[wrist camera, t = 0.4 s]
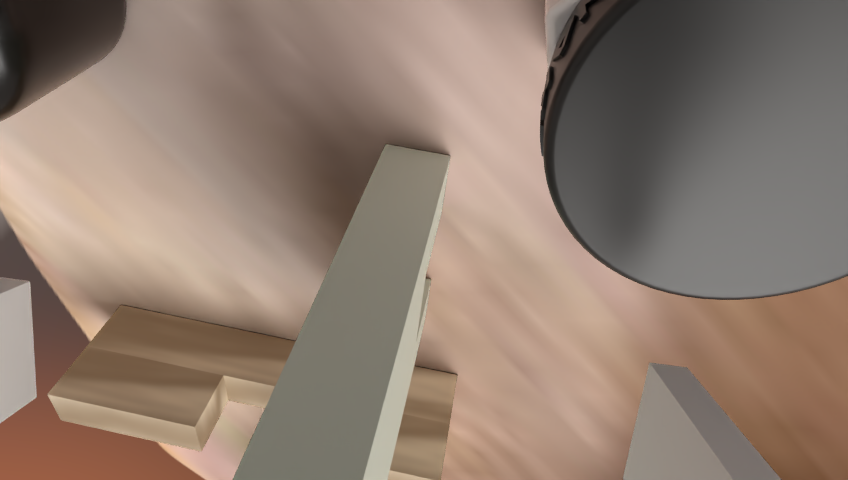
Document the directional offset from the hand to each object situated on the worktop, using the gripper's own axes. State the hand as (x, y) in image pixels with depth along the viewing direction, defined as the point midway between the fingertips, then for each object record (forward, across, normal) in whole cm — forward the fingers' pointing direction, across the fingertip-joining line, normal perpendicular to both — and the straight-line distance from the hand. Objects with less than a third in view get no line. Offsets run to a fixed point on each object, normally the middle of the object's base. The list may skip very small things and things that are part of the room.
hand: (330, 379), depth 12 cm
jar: (+12, +9, +11) cm, 18 cm away
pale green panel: (+18, 0, -1) cm, 18 cm away
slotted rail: (+23, -7, -11) cm, 26 cm away
